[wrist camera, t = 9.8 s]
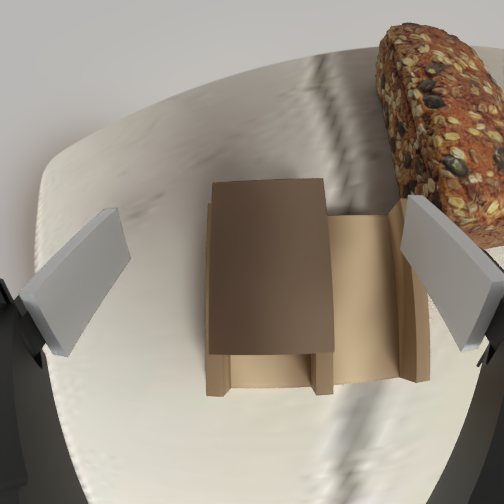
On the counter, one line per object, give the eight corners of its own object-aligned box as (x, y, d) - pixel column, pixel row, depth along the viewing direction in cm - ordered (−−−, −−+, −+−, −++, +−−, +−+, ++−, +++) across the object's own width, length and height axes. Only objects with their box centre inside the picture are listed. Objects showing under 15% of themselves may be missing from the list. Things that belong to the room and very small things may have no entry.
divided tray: (400, 219, 22) (420, 198, 18) (413, 372, 19) (437, 378, 15) (211, 225, 23) (199, 204, 20) (211, 384, 20) (196, 395, 16)
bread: (367, 81, 26) (386, 7, 17) (451, 97, 25) (484, 36, 16) (398, 255, 22) (464, 204, 12) (495, 256, 21) (568, 219, 11)
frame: (302, 254, 21) (323, 178, 11) (305, 341, 20) (334, 352, 9) (244, 256, 21) (210, 182, 11) (244, 343, 20) (205, 354, 9)
